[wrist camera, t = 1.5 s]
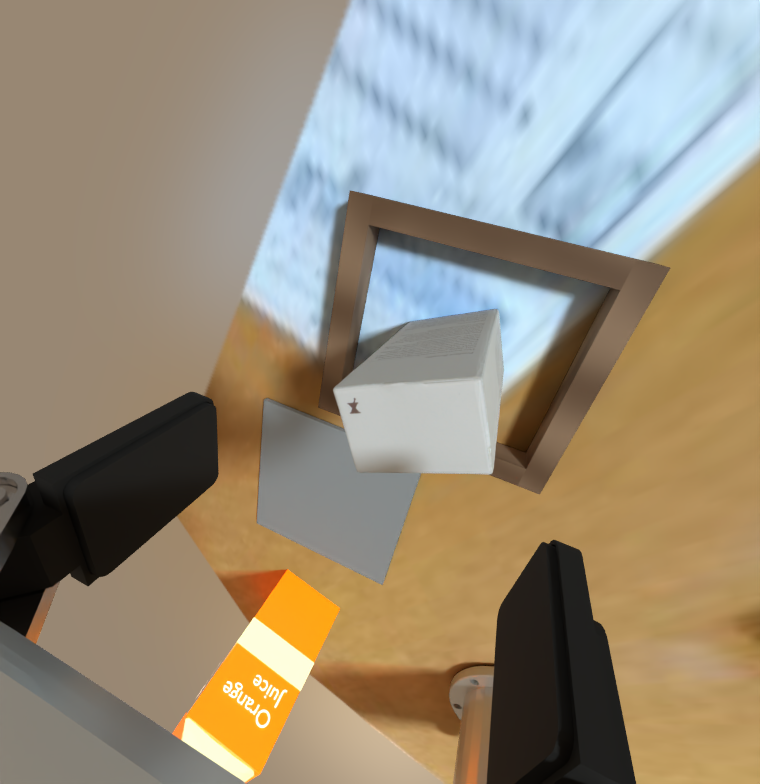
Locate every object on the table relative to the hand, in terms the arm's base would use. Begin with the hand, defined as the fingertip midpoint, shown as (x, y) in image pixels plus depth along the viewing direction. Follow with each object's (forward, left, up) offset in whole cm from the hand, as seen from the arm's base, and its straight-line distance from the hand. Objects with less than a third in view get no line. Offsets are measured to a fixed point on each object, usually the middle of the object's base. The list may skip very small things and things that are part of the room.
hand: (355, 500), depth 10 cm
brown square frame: (0, 0, -17) cm, 17 cm away
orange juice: (-37, +8, -17) cm, 42 cm away
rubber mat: (-18, +7, -17) cm, 26 cm away
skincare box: (0, 0, -17) cm, 17 cm away
